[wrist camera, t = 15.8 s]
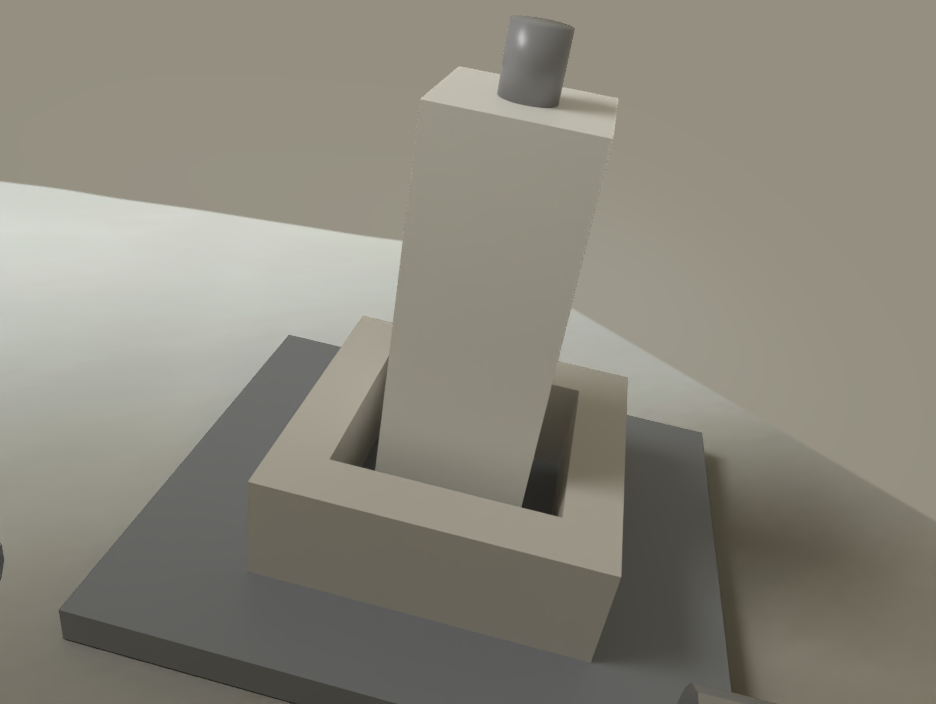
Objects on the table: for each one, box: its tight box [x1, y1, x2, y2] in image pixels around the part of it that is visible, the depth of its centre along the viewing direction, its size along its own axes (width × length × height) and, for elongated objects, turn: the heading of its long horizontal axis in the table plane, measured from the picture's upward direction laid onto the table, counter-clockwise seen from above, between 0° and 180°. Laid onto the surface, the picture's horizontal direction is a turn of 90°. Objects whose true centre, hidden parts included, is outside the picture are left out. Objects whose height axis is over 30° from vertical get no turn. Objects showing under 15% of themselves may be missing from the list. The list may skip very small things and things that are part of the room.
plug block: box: [375, 16, 618, 507], centre depth 20 cm, size 4×4×14 cm
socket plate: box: [59, 316, 731, 704], centre depth 23 cm, size 16×14×4 cm
